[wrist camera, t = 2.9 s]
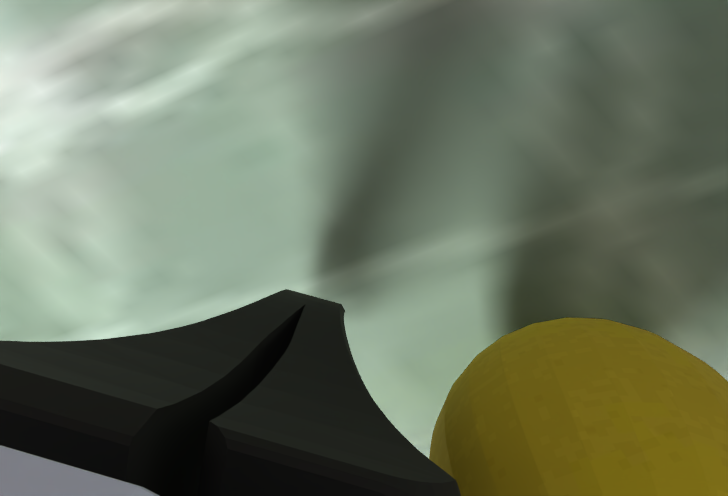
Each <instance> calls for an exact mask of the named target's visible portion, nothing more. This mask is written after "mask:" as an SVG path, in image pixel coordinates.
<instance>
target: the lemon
mask: <svg viewBox="0 0 728 496" xmlns="http://www.w3.org/2000/svg"><path fill="white" fill-rule="evenodd" d="M429 459H430V460H431V461H432V462H434V463H435V464H436V465H437V466H439V467H440V468H441V469H443V470H444V471H445V472H446V473H448V474H449V475H450V476H452V477H453V478H454V479H455V480H456V481H457V484H458V487H459V490H460V494H461V496H728V381H727V380H725V379H724V378H723V377H722V376H721V375H720V374H719V373H718V372H717V371H715V370H714V369H713V368H712V367H710V366H709V365H708V364H706V363H705V362H703V361H702V360H700V359H698V358H697V357H695V356H693V355H692V354H690V353H688V352H687V351H685V350H683V349H681V348H680V347H678V346H676V345H674V344H672V343H671V342H669V341H667V340H665V339H664V338H662V337H660V336H658V335H656V334H654V333H652V332H649V331H647V330H644V329H640V328H636V327H633V326H629V325H626V324H622V323H618V322H615V321H611V320H606V319H595V318H569V317H566V318H561V319H555V320H550V321H544V322H538V323H533V324H531V325H528V326H526V327H523V328H521V329H519V330H516V331H514V332H512V333H509V334H507V335H504V336H502V337H501V338H500V339H498V340H497V341H496V342H494V343H493V344H491V345H490V346H489V347H487V348H486V349H485V350H483V351H482V352H481V353H479V354H478V355H477V356H476V357H475V358H474V359H473V361H472V362H471V363H470V364H469V365H468V367H467V368H466V369H465V370H464V372H463V373H462V374H461V375H460V377H459V378H458V379H457V380H456V381H455V383H454V384H453V386H452V388H451V390H450V392H449V394H448V396H447V398H446V401H445V403H444V405H443V408H442V410H441V412H440V414H439V417H438V419H437V421H436V424H435V428H434V431H433V435H432V441H431V447H430V457H429Z"/></svg>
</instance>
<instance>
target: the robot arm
mask: <svg viewBox="0 0 728 496" xmlns="http://www.w3.org/2000/svg"><path fill="white" fill-rule="evenodd" d="M344 313H345V310H344V308H343V306H342V304H339V303H335V302H331V301H328V300H324V299H320V298H317V297H313V296H309V295H306V294H302V293H298V292H295V291H291V290H287V289H286V290H283V291H280V292H277V293H275V294H273V295H270V296H268V297H266V298H263V299H261V300H259V301H256V302H254V303H251V304H249V305H246V306H244V307H241V308H239V309H237V310H234V311H231V312H228V313H225V314H222V315H219V316H216V317H213V318H210V319H207V320H204V321H201V322H198V323H194V324H191V325H187V326H183V327H179V328H174V329H170V330H165V331H160V332H155V333H149V334H142V335H134V336H126V337H119V338H111V339H101V340H86V341H63V342H20V341H0V496H461V494H460V490H459V487H458V484H457V481H456V480H455V479H454V478H453V477H452V476H450V475H449V474H448V473H446V472H445V471H444V470H443V469H441V468H440V467H439V466H437V465H436V464H435V463H434V462H432V461H431V460H430V459H428V458H427V457H426V456H425V455H423V454H422V453H421V452H420V451H419V450H417V449H416V448H415V447H414V446H413V445H412V444H411V443H410V442H409V441H408V440H407V439H406V438H405V437H404V436H403V435H402V434H401V433H400V432H399V431H398V430H397V429H396V428H395V427H394V426H393V424H392V423H391V422H390V421H389V420H388V419H387V417H386V416H385V415H384V414H383V412H382V411H381V410H380V408H379V407H378V406H377V405H376V403H375V402H374V400H373V399H372V397H371V396H370V394H369V392H368V390H367V389H366V387H365V385H364V383H363V381H362V379H361V377H360V375H359V372H358V370H357V367H356V365H355V362H354V360H353V357H352V354H351V351H350V348H349V344H348V340H347V337H346V332H345V326H344Z"/></svg>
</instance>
